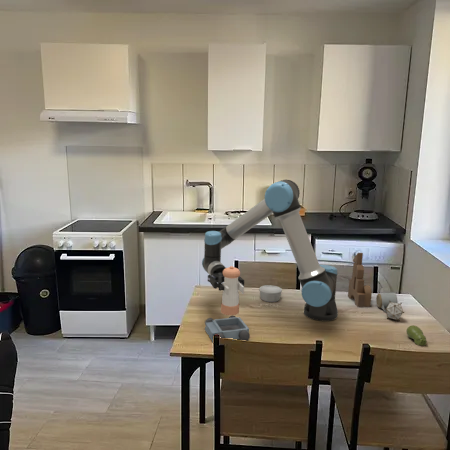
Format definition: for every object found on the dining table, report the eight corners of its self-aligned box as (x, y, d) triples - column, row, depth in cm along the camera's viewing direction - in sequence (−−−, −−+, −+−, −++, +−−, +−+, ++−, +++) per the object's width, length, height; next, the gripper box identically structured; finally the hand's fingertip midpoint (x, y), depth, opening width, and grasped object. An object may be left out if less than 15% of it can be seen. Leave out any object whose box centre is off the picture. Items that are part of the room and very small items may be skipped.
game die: (395, 325, 196) (410, 309, 195) (395, 326, 188) (410, 309, 187) (379, 312, 200) (393, 295, 199) (378, 312, 192) (393, 295, 191)
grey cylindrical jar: (374, 304, 210) (376, 289, 209) (391, 305, 210) (393, 290, 209) (381, 313, 200) (383, 298, 198) (399, 314, 200) (401, 298, 198)
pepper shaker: (218, 313, 173) (219, 267, 169) (224, 307, 179) (226, 262, 175) (235, 316, 170) (237, 270, 166) (241, 309, 177) (243, 265, 173)
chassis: (237, 323, 186) (237, 314, 185) (250, 340, 171) (251, 331, 170) (203, 327, 181) (203, 318, 180) (214, 345, 166) (214, 335, 165)
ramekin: (279, 294, 220) (279, 285, 219) (283, 303, 209) (283, 293, 208) (257, 294, 220) (257, 284, 219) (260, 303, 209) (260, 292, 208)
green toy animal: (418, 322, 178) (431, 337, 169) (415, 333, 180) (428, 348, 171) (405, 323, 177) (418, 338, 168) (402, 334, 179) (415, 349, 170)
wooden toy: (371, 307, 207) (376, 256, 202) (357, 307, 207) (362, 256, 202) (359, 295, 222) (363, 248, 217) (346, 295, 222) (350, 248, 217)
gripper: (238, 278, 192) (257, 298, 171) (197, 282, 187) (212, 302, 165) (238, 262, 191) (258, 280, 169) (197, 265, 185) (212, 283, 164)
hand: (235, 290), depth 167 cm, fingers closed on pepper shaker, 5 cm apart
